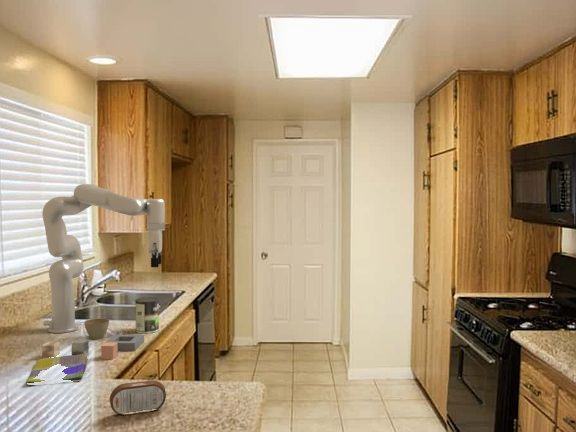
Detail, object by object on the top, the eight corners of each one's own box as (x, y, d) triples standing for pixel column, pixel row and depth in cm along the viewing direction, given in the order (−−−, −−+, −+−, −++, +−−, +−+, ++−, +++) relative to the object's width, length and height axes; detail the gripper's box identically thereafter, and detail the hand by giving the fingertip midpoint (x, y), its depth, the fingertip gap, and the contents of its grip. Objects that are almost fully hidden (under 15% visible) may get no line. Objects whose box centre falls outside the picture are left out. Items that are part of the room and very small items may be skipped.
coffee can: (161, 327, 231) (161, 297, 231) (155, 333, 221) (155, 301, 220) (139, 327, 231) (139, 297, 231) (132, 333, 221) (131, 301, 220)
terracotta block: (101, 359, 186) (101, 345, 186) (105, 355, 190) (105, 342, 190) (113, 359, 186) (113, 345, 186) (117, 355, 190) (117, 342, 190)
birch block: (42, 358, 186) (42, 345, 186) (48, 355, 191) (47, 341, 190) (54, 358, 186) (54, 345, 186) (59, 355, 191) (59, 342, 190)
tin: (165, 406, 144) (165, 377, 144) (166, 410, 141) (166, 381, 141) (109, 414, 138) (109, 384, 138) (110, 419, 136) (109, 388, 135)
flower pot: (79, 338, 212) (79, 322, 212) (98, 333, 221) (97, 317, 221) (95, 342, 208) (95, 325, 207) (114, 336, 216) (114, 319, 216)
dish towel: (22, 389, 158) (22, 380, 158) (37, 364, 181) (36, 357, 181) (82, 383, 163) (82, 374, 163) (88, 360, 186) (88, 352, 186)
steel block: (71, 358, 186) (71, 342, 186) (76, 355, 190) (76, 339, 190) (83, 359, 186) (83, 343, 186) (88, 355, 190) (88, 339, 190)
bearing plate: (104, 350, 196) (104, 342, 196) (115, 341, 208) (115, 334, 208) (134, 350, 196) (134, 343, 196) (144, 341, 208) (144, 334, 208)
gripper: (149, 225, 229) (150, 263, 229) (144, 228, 212) (144, 268, 212) (166, 225, 230) (167, 263, 230) (162, 228, 213) (162, 268, 213)
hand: (156, 265), depth 221 cm, fingers open, 9 cm apart
